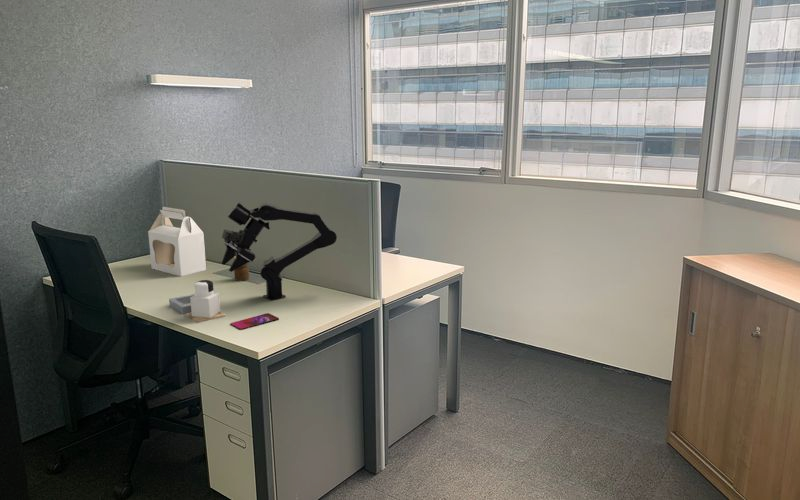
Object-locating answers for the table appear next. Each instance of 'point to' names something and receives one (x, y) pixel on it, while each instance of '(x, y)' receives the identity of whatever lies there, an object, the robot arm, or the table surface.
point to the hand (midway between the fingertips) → (226, 267)
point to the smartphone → (254, 321)
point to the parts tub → (181, 303)
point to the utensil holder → (241, 273)
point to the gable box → (176, 244)
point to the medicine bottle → (204, 300)
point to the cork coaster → (200, 319)
